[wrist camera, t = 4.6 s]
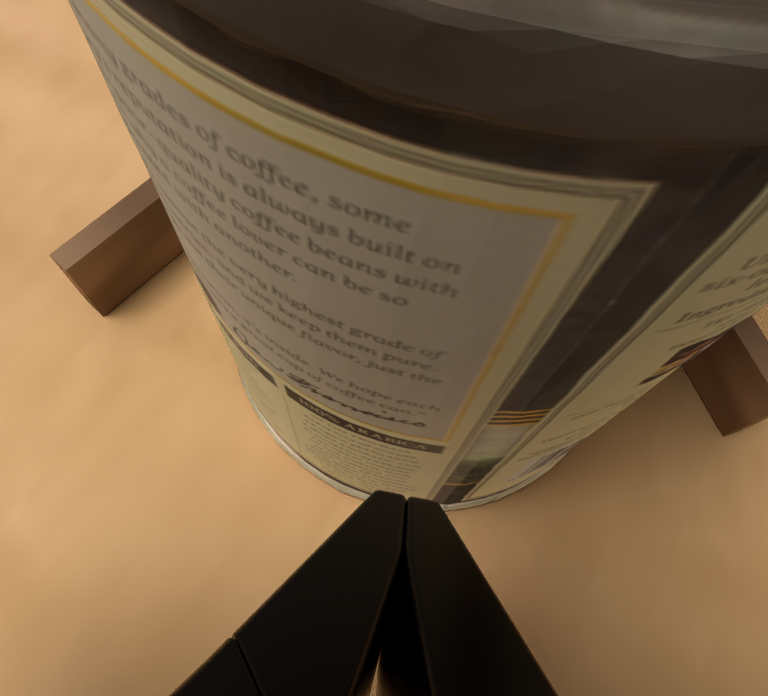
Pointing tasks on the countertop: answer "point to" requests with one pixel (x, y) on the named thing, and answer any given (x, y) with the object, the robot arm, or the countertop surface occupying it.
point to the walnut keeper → (161, 245)
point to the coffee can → (452, 212)
